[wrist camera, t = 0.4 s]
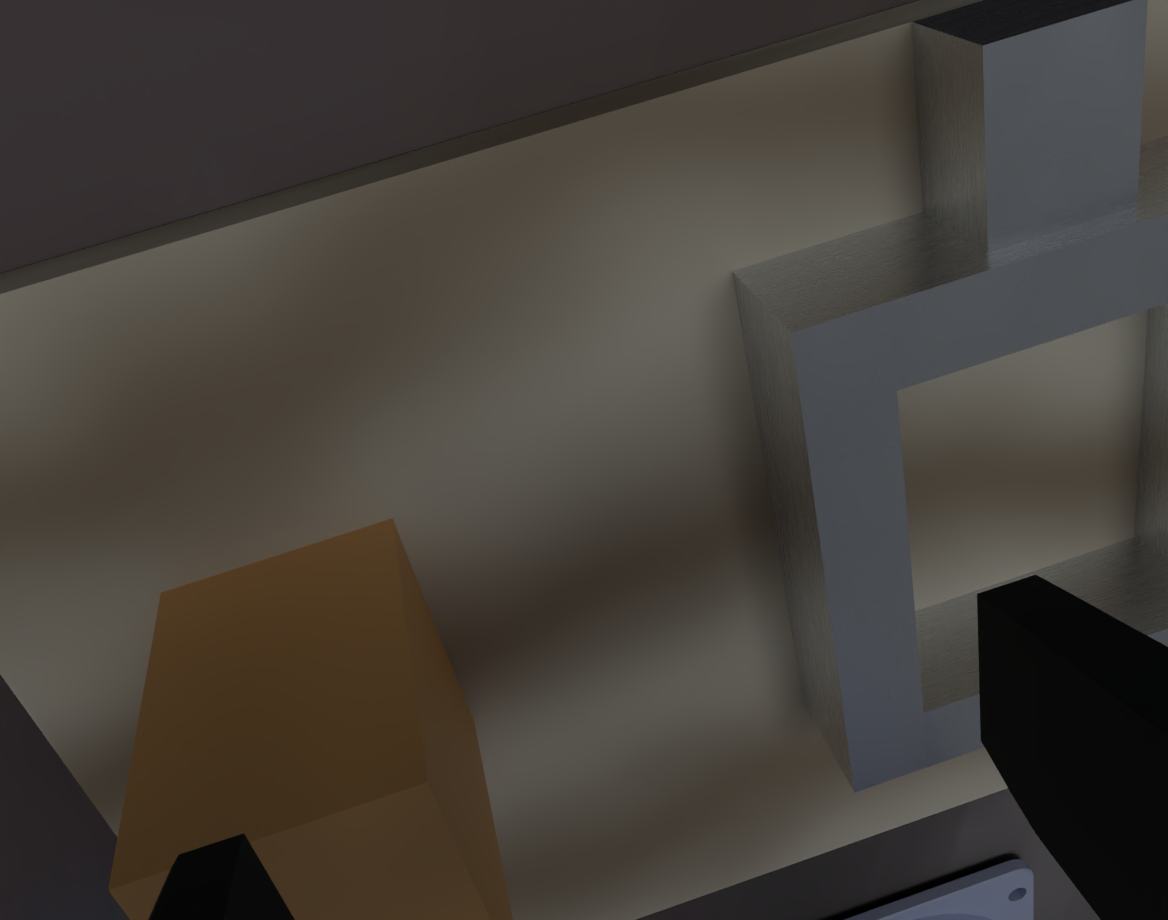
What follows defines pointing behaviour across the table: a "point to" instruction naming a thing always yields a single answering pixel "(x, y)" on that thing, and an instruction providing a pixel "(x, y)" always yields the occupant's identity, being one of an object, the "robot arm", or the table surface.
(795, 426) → the grey rectangular frame
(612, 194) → the base board
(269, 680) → the cardboard-brown box
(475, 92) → the table surface
